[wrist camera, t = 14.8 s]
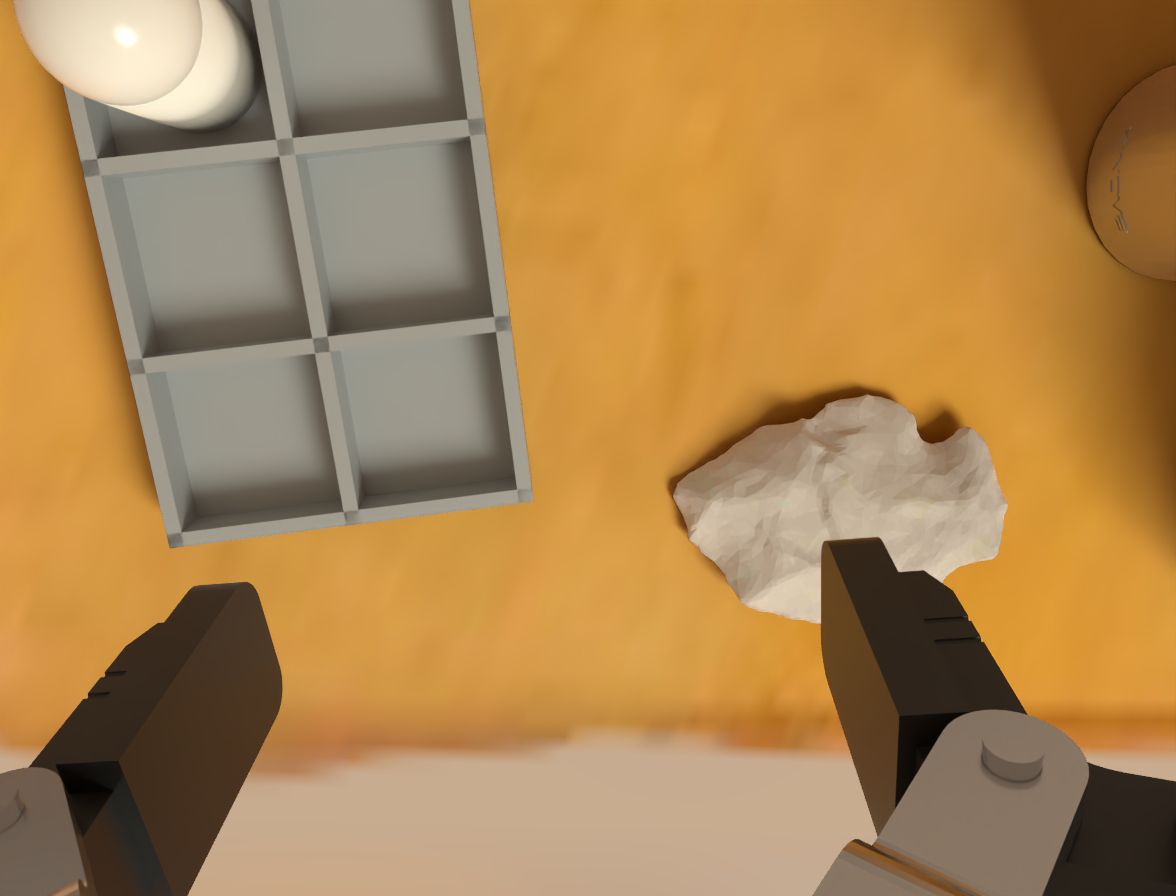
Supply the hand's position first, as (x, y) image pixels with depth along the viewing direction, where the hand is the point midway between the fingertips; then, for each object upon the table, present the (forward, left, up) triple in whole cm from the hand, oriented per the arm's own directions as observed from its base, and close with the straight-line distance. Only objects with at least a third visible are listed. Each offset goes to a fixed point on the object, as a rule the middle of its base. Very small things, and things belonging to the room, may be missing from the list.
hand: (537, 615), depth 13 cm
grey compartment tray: (+8, -6, -27) cm, 29 cm away
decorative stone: (-13, +9, -28) cm, 32 cm away
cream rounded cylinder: (+11, -13, -27) cm, 32 cm away
